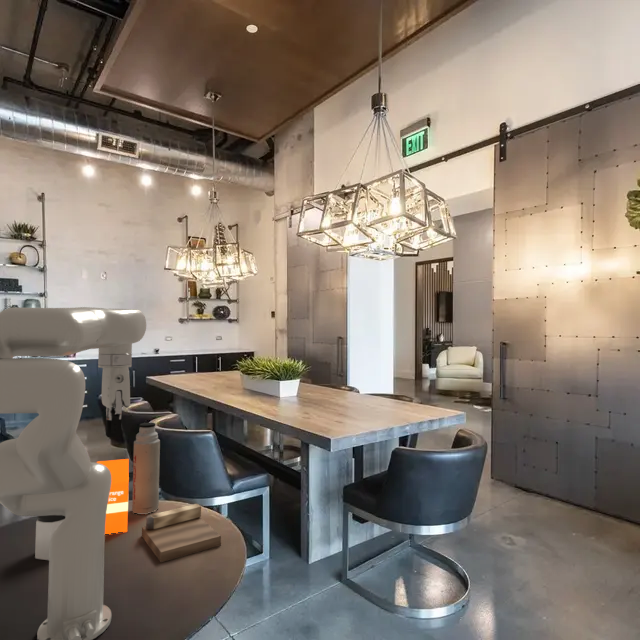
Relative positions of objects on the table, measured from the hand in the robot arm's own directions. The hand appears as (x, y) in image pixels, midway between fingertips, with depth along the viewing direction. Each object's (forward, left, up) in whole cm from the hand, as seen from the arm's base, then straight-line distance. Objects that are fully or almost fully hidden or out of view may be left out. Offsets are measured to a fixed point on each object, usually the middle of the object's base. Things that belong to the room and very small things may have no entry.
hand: (113, 435), depth 110 cm
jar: (+17, +10, -32) cm, 38 cm away
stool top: (+5, -19, -32) cm, 38 cm away
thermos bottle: (+33, -17, -32) cm, 49 cm away
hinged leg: (+12, -19, -29) cm, 37 cm away
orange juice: (+24, -5, -32) cm, 41 cm away
